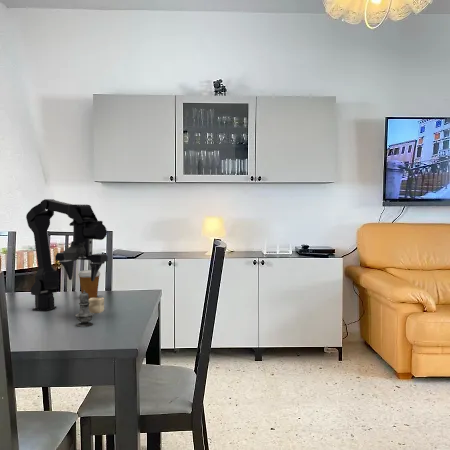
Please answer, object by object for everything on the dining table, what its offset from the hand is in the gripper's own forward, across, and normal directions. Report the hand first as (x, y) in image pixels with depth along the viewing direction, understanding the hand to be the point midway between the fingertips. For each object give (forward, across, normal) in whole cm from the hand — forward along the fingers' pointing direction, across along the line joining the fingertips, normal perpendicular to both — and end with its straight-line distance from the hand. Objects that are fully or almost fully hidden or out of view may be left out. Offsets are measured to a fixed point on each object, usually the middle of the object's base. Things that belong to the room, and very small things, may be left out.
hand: (81, 280), depth 171 cm
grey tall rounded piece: (+13, +9, -12) cm, 20 cm away
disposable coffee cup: (+14, -15, +31) cm, 37 cm away
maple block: (+13, +2, +7) cm, 15 cm away
